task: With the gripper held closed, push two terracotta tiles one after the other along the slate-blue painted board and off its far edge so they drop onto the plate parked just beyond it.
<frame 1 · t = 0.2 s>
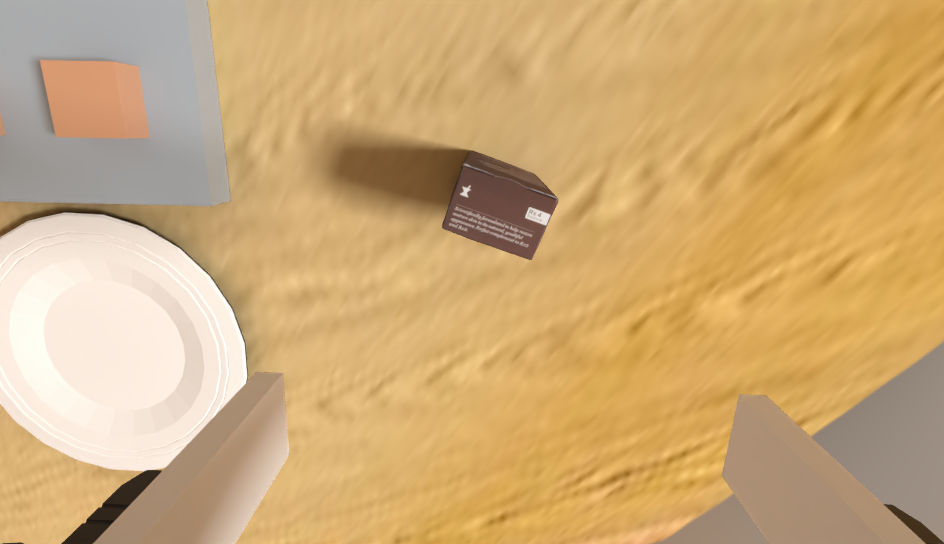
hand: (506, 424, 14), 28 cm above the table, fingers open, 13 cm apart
plate: (122, 343, 45), on the table
board: (69, 96, 38), on the table
tile a: (110, 102, 36), point 3 cm above the table, touching board
box: (494, 188, 40), on the table
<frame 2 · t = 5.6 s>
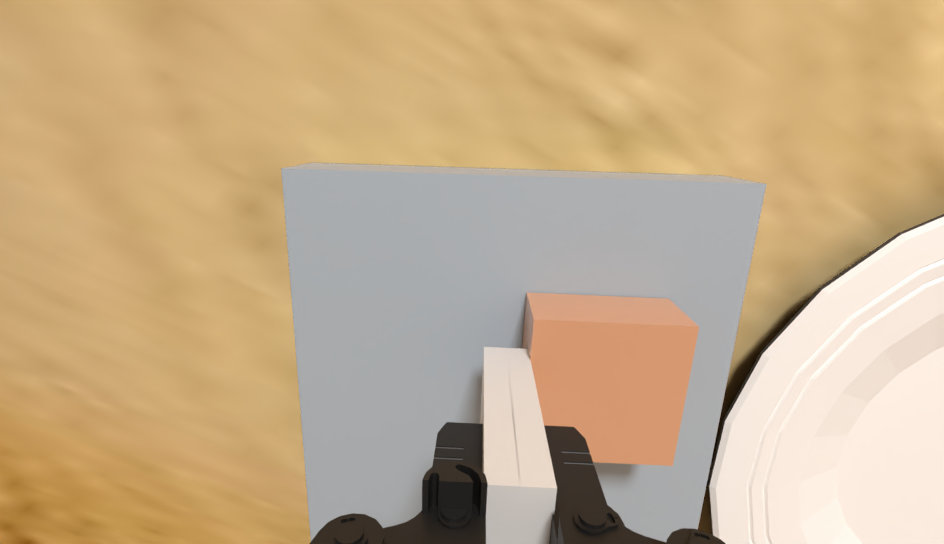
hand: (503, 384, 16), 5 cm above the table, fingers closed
board: (501, 435, 22), on the table
tile a: (589, 359, 18), point 3 cm above the table, touching gripper
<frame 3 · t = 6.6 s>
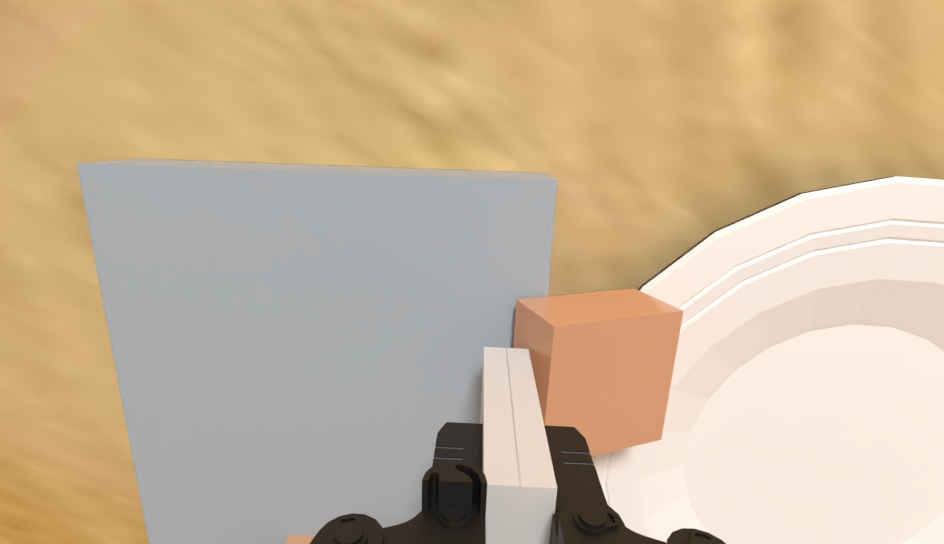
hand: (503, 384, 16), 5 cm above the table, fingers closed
plate: (814, 443, 23), on the table
board: (352, 432, 22), on the table
tile a: (571, 356, 18), point 3 cm above the table, tilted 23°, touching board, gripper
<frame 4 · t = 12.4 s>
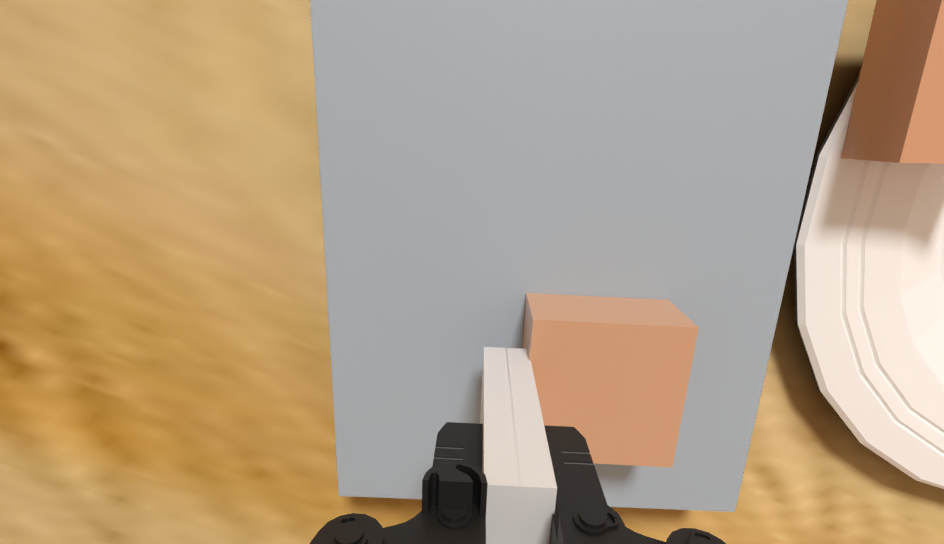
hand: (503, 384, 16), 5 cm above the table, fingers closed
board: (548, 196, 19), on the table
tile a: (933, 83, 16), point 1 cm above the table, touching plate
tile b: (589, 360, 18), point 3 cm above the table, touching gripper
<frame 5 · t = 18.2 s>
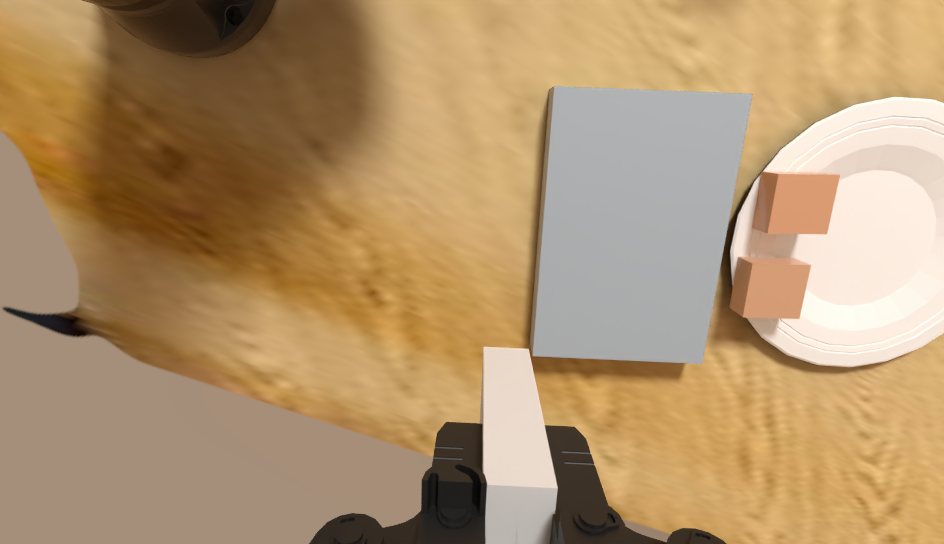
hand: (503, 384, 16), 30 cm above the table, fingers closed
plate: (855, 238, 46), on the table, touching tile a, tile b
board: (624, 229, 45), on the table
tile a: (785, 200, 43), point 1 cm above the table, touching plate
tile b: (760, 283, 45), point 1 cm above the table, touching plate
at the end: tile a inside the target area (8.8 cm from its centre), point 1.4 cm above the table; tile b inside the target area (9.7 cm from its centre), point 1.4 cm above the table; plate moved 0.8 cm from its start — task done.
